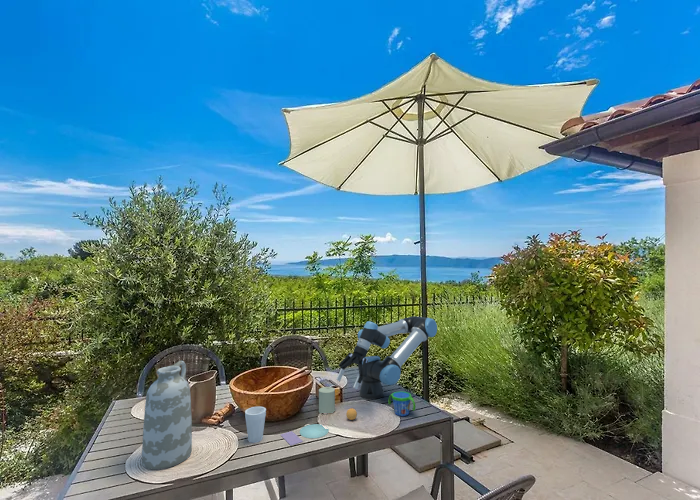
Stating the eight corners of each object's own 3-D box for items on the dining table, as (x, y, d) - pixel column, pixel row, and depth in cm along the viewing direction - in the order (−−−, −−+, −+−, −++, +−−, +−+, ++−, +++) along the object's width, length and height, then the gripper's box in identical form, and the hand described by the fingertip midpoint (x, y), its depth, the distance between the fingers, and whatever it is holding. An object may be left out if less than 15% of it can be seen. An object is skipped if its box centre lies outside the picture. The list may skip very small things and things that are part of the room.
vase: (172, 472, 133) (174, 372, 135) (130, 468, 136) (132, 371, 138) (202, 445, 152) (204, 359, 155) (165, 442, 155) (167, 358, 158)
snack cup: (384, 412, 185) (383, 393, 185) (395, 407, 193) (395, 388, 193) (408, 421, 174) (408, 401, 175) (419, 414, 182) (419, 395, 182)
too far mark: (291, 431, 165) (291, 431, 165) (302, 441, 155) (302, 441, 155) (280, 435, 161) (280, 434, 161) (290, 445, 152) (290, 445, 152)
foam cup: (246, 446, 151) (247, 416, 152) (243, 437, 160) (243, 409, 160) (268, 441, 156) (268, 412, 157) (263, 432, 164) (263, 405, 165)
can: (336, 407, 193) (336, 386, 193) (333, 414, 183) (333, 392, 184) (320, 407, 193) (320, 385, 194) (317, 414, 184) (317, 391, 185)
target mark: (319, 422, 175) (319, 421, 175) (334, 432, 163) (334, 432, 163) (294, 429, 167) (294, 429, 167) (307, 441, 155) (307, 440, 155)
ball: (353, 416, 181) (352, 405, 181) (359, 420, 176) (358, 409, 177) (344, 418, 178) (344, 408, 178) (350, 422, 173) (350, 411, 174)
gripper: (343, 340, 200) (327, 375, 192) (374, 350, 182) (358, 389, 174) (350, 345, 204) (335, 379, 197) (382, 356, 186) (366, 394, 179)
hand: (346, 384), depth 186 cm, fingers open, 13 cm apart
